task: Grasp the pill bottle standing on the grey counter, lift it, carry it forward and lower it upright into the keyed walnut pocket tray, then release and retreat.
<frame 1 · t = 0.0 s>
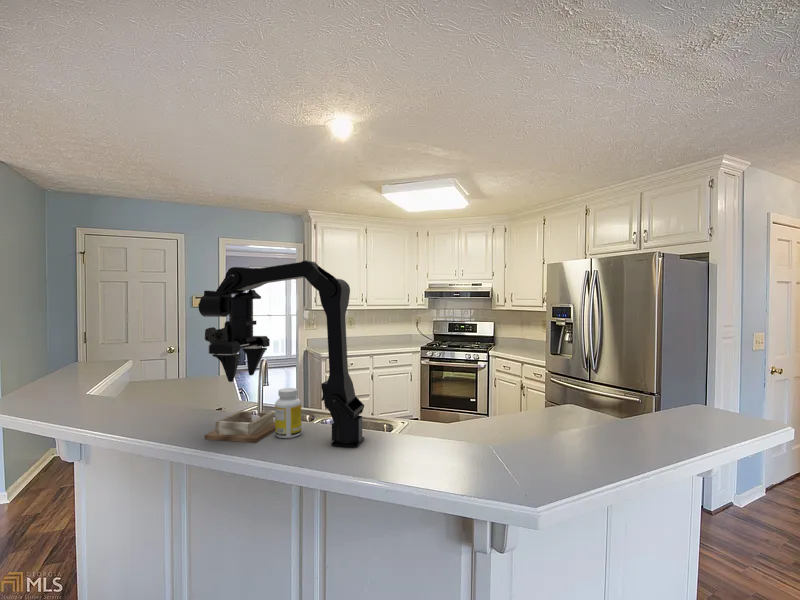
hand: (241, 378, 109), 15 cm above the table, fingers open, 9 cm apart
pill bottle: (288, 435, 110), on the table
pocket tray: (245, 432, 112), on the table
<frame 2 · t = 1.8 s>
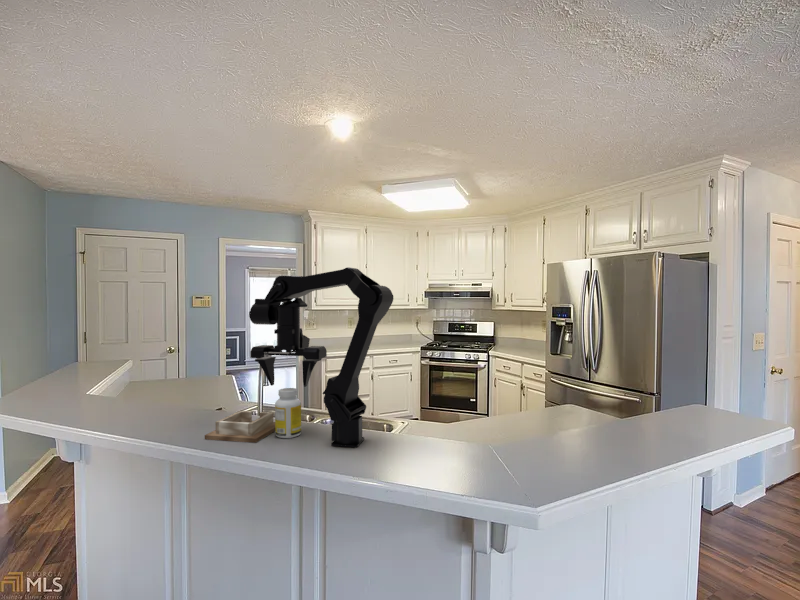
hand: (288, 385, 110), 13 cm above the table, fingers open, 9 cm apart
nothing on the table moved.
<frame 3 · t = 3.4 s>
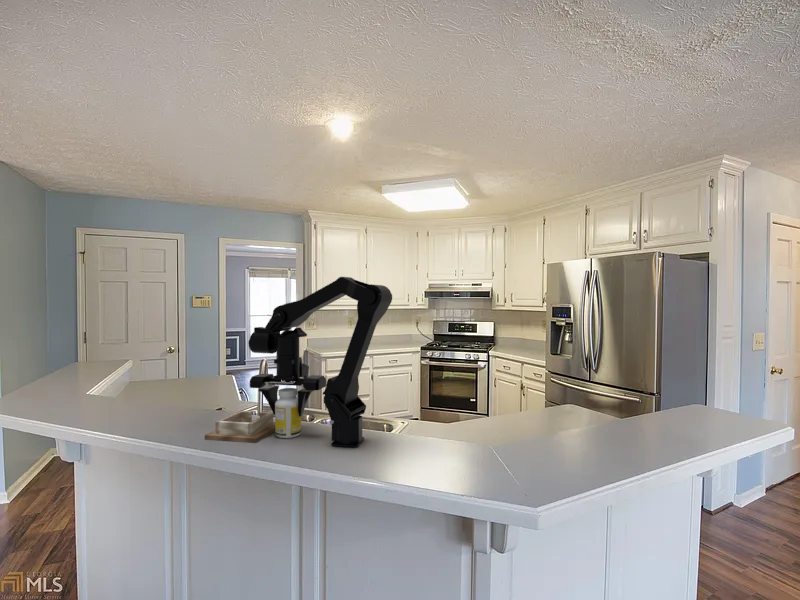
hand: (288, 415, 110), 5 cm above the table, fingers closed on pill bottle, 6 cm apart
pill bottle: (288, 435, 110), on the table, touching gripper
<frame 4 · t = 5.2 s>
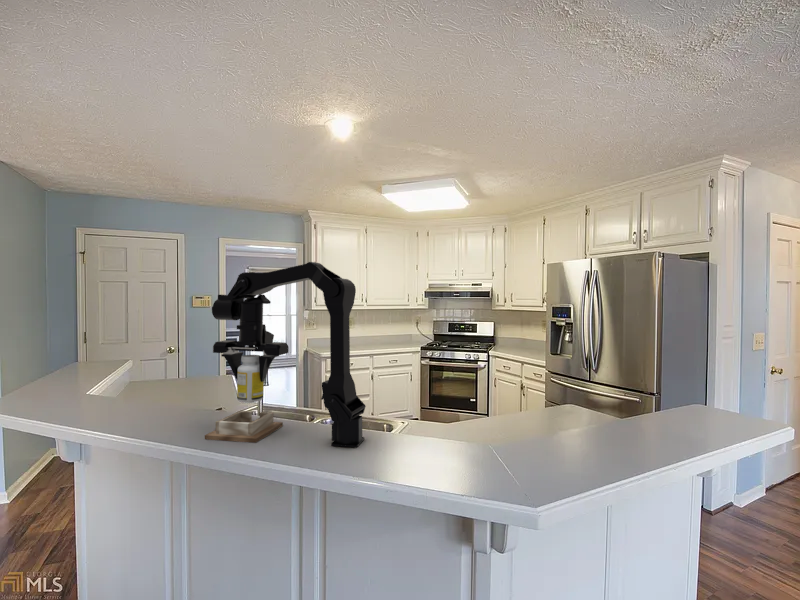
hand: (250, 380, 112), 14 cm above the table, fingers closed on pill bottle, 6 cm apart
pill bottle: (250, 401, 112), point 8 cm above the table, touching gripper
when the fingers open (7 cm above the table, at t = 7.3 s): pill bottle drops 1 cm, resting on pocket tray.
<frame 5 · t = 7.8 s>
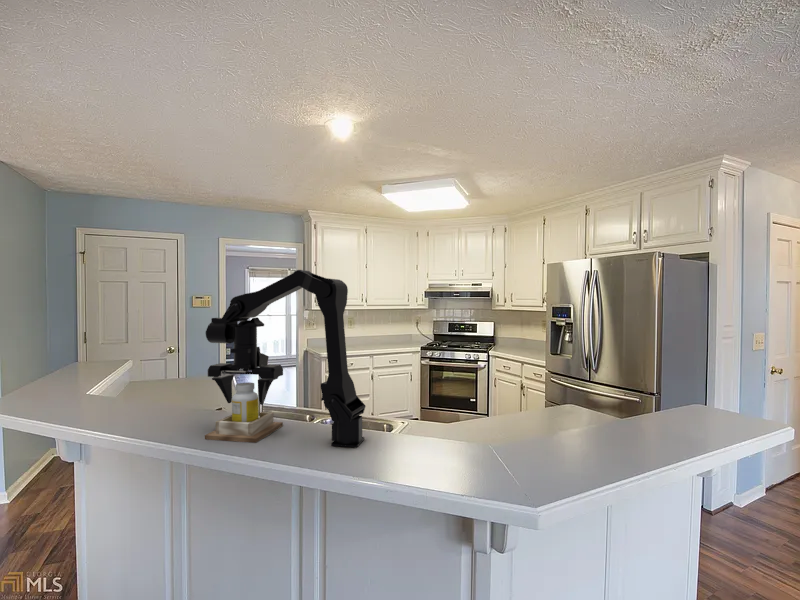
hand: (245, 403, 112), 7 cm above the table, fingers open, 9 cm apart
pill bottle: (245, 429, 112), point 1 cm above the table, touching pocket tray
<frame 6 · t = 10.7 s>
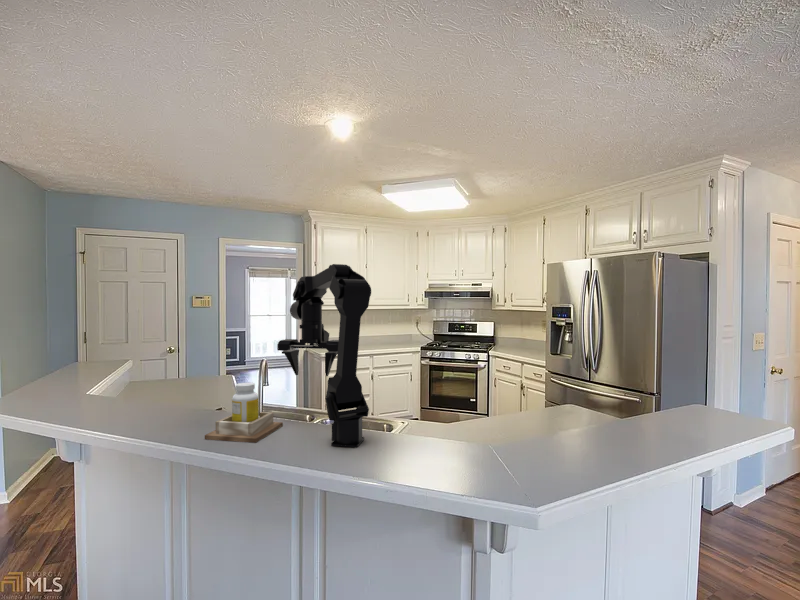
hand: (311, 375, 122), 13 cm above the table, fingers open, 9 cm apart
nothing on the table moved.
at the end: pill bottle 0.1 cm off-centre on the pocket tray, point 0.8 cm above the pocket tray's base; pill bottle tilted 0°; the gripper is holding nothing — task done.
